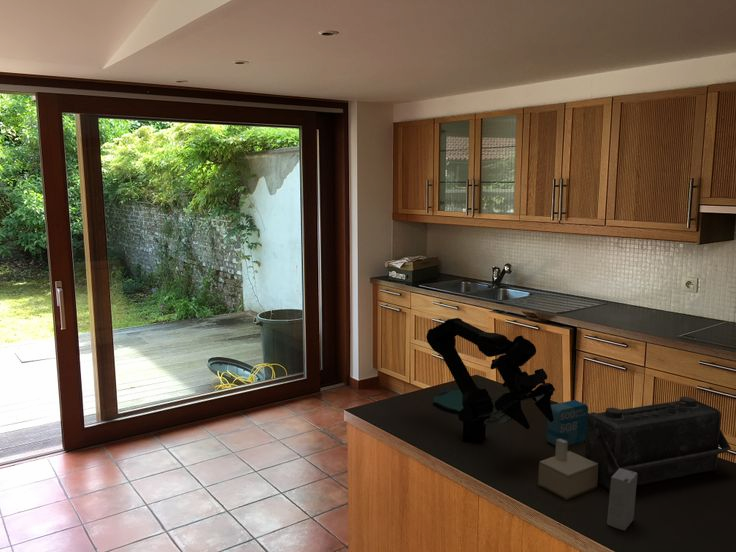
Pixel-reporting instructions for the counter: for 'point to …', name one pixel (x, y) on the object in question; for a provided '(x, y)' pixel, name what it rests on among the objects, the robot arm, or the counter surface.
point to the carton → (567, 482)
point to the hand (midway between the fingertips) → (540, 424)
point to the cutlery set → (459, 403)
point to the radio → (655, 440)
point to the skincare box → (622, 499)
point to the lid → (567, 461)
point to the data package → (568, 422)
